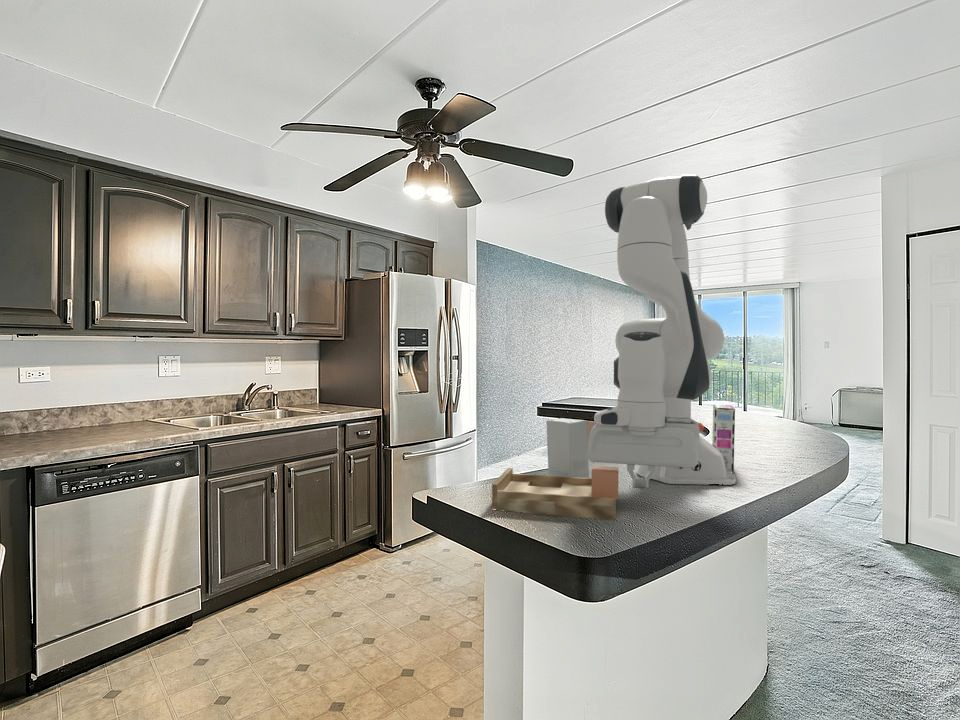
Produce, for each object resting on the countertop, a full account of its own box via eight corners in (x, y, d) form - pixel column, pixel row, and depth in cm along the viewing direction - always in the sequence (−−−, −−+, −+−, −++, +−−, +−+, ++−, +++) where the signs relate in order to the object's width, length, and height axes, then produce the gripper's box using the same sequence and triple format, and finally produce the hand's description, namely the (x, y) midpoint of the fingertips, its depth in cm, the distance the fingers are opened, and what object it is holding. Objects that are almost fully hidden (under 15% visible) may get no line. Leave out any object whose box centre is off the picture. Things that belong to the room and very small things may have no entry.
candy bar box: (735, 473, 130) (735, 408, 130) (713, 472, 132) (713, 407, 132) (732, 464, 141) (732, 404, 140) (711, 463, 143) (712, 403, 142)
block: (618, 492, 103) (618, 467, 103) (618, 499, 99) (618, 472, 99) (592, 490, 105) (592, 465, 105) (591, 497, 100) (591, 471, 100)
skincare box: (589, 485, 119) (589, 420, 119) (570, 488, 116) (570, 422, 116) (564, 477, 126) (564, 416, 126) (545, 481, 123) (545, 418, 123)
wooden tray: (615, 497, 108) (615, 474, 108) (615, 520, 94) (615, 492, 94) (508, 490, 114) (508, 467, 114) (492, 510, 100) (492, 484, 100)
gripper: (697, 416, 100) (696, 487, 100) (588, 412, 105) (588, 480, 105) (701, 419, 94) (701, 496, 94) (586, 415, 99) (586, 487, 99)
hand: (640, 487), depth 100 cm, fingers closed
